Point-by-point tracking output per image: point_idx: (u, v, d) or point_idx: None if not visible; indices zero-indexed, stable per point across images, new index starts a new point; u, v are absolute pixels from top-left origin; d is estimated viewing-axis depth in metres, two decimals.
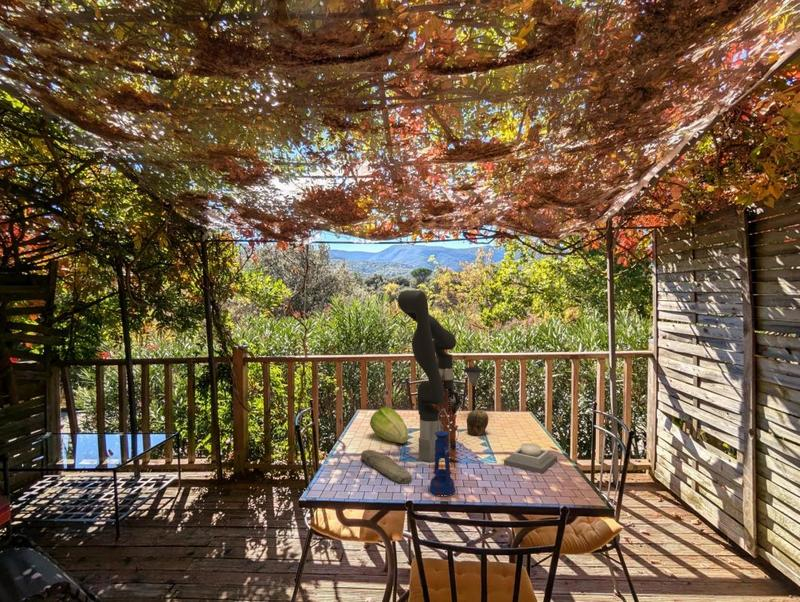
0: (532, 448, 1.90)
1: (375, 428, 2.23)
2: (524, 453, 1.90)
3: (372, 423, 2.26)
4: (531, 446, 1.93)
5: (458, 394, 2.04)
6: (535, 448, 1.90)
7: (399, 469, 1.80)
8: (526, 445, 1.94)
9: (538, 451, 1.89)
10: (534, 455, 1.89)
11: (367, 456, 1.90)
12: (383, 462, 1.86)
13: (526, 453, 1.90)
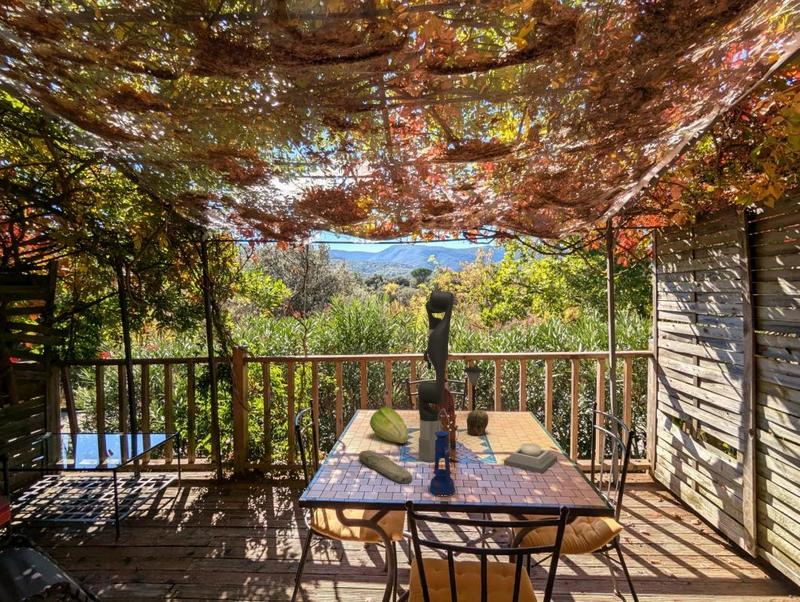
0: (532, 448, 1.90)
1: (375, 428, 2.23)
2: (524, 453, 1.90)
3: (371, 423, 2.25)
4: (531, 446, 1.93)
5: (424, 352, 2.39)
6: (535, 448, 1.90)
7: (399, 469, 1.80)
8: (526, 445, 1.94)
9: (538, 451, 1.89)
10: (534, 455, 1.89)
11: (366, 457, 1.90)
12: (382, 462, 1.86)
13: (526, 453, 1.90)
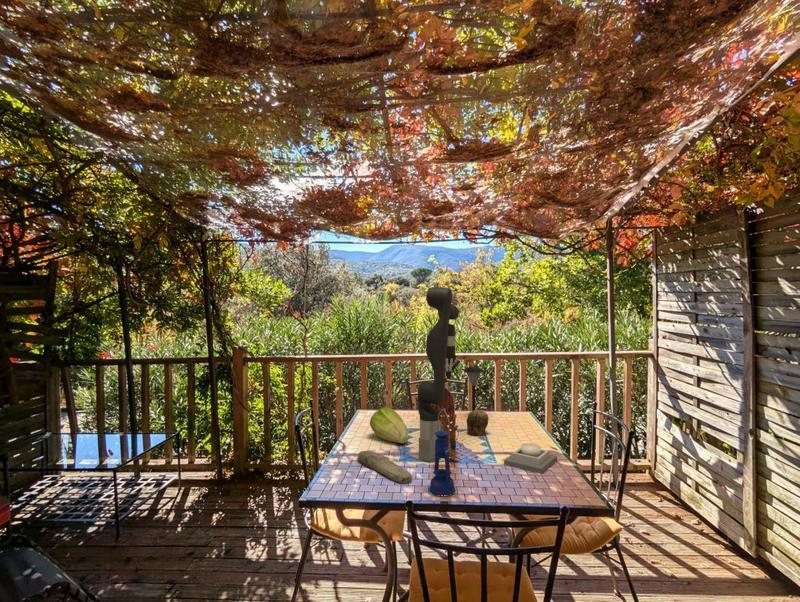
0: (532, 448, 1.90)
1: (375, 428, 2.22)
2: (524, 453, 1.90)
3: (371, 423, 2.25)
4: (531, 446, 1.93)
5: None
6: (535, 448, 1.90)
7: (399, 469, 1.80)
8: (526, 445, 1.94)
9: (538, 451, 1.89)
10: (534, 455, 1.89)
11: (365, 457, 1.89)
12: (382, 462, 1.86)
13: (526, 453, 1.90)
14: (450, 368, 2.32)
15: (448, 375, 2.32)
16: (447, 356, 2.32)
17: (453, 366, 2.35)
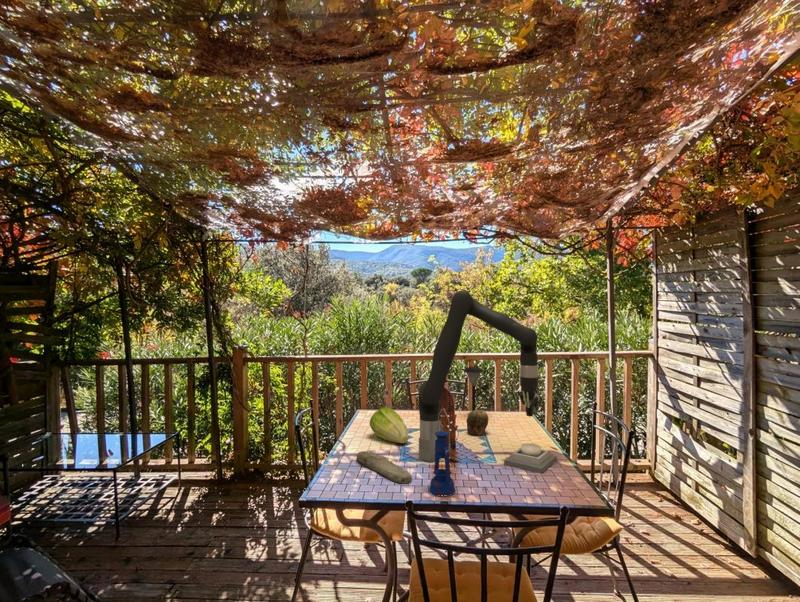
0: (532, 448, 1.90)
1: (375, 428, 2.22)
2: (524, 453, 1.90)
3: (371, 423, 2.25)
4: (531, 446, 1.93)
5: None
6: (535, 448, 1.90)
7: (398, 469, 1.80)
8: (526, 445, 1.94)
9: (538, 451, 1.89)
10: (534, 455, 1.89)
11: (364, 457, 1.89)
12: (381, 463, 1.86)
13: (526, 453, 1.90)
14: (528, 404, 1.92)
15: (527, 412, 1.93)
16: (526, 389, 1.93)
17: None
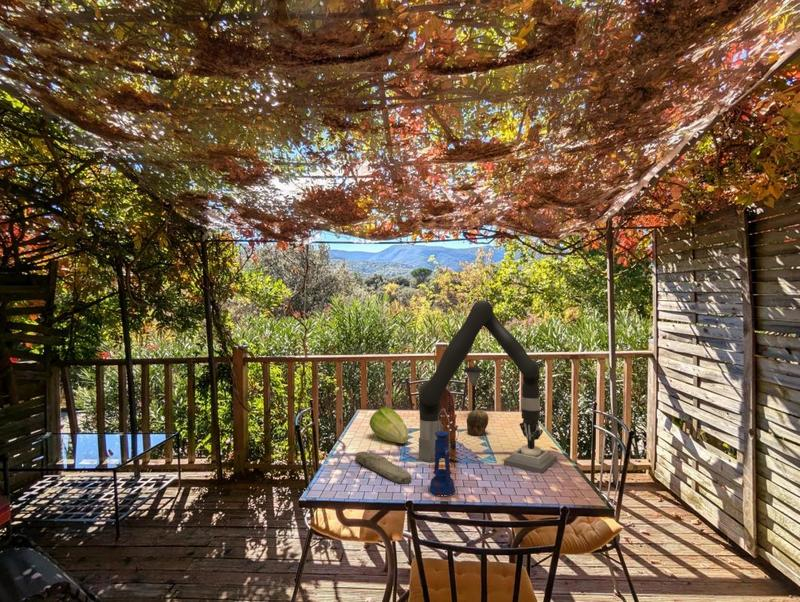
0: (532, 450, 1.90)
1: (375, 428, 2.22)
2: None
3: (371, 423, 2.25)
4: None
5: None
6: (536, 450, 1.90)
7: (397, 469, 1.80)
8: (526, 447, 1.94)
9: (538, 453, 1.89)
10: None
11: (363, 457, 1.88)
12: (380, 463, 1.86)
13: None
14: (530, 436, 1.91)
15: (528, 444, 1.92)
16: (527, 421, 1.93)
17: None
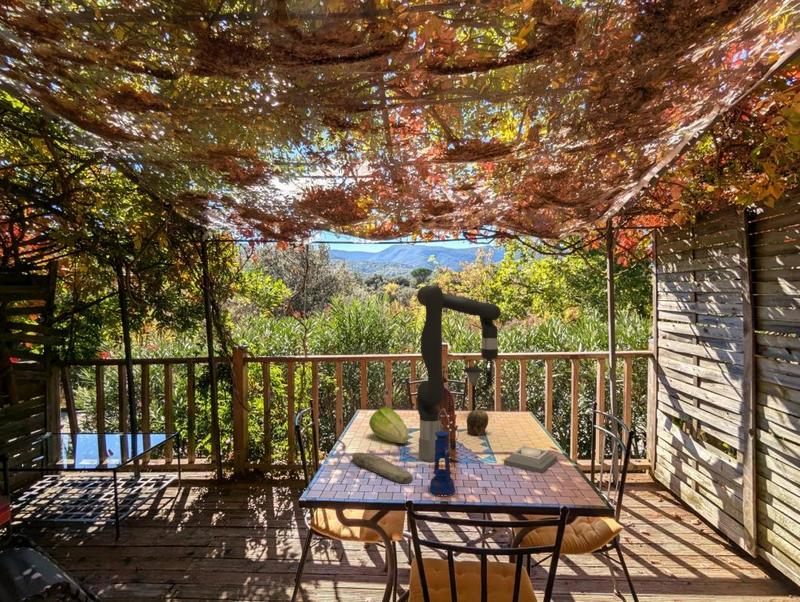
0: (532, 452, 1.91)
1: (375, 428, 2.22)
2: None
3: (371, 423, 2.25)
4: (531, 449, 1.93)
5: None
6: (535, 452, 1.90)
7: (398, 469, 1.80)
8: (526, 449, 1.94)
9: (538, 455, 1.89)
10: None
11: (361, 458, 1.87)
12: (379, 463, 1.85)
13: None
14: (486, 373, 2.09)
15: (487, 381, 2.10)
16: None
17: None
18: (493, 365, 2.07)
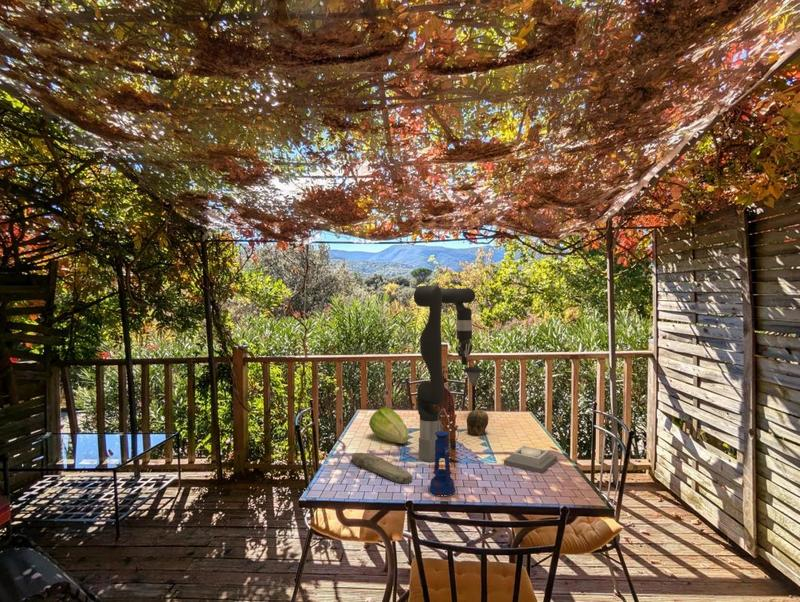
0: (532, 452, 1.91)
1: (375, 429, 2.22)
2: None
3: (371, 423, 2.24)
4: (531, 449, 1.93)
5: None
6: (535, 452, 1.90)
7: (397, 469, 1.80)
8: (526, 449, 1.94)
9: (538, 455, 1.89)
10: None
11: (361, 459, 1.87)
12: (378, 463, 1.85)
13: None
14: None
15: None
16: None
17: None
18: (465, 346, 2.19)
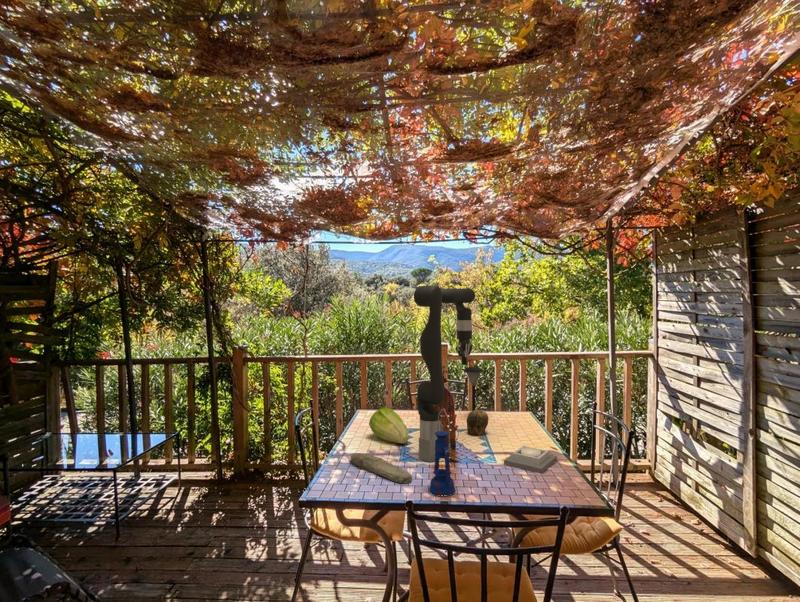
0: (532, 452, 1.91)
1: (375, 429, 2.22)
2: None
3: (371, 423, 2.24)
4: (531, 449, 1.93)
5: None
6: (535, 452, 1.90)
7: (397, 469, 1.80)
8: (526, 449, 1.94)
9: (538, 455, 1.89)
10: None
11: (360, 459, 1.87)
12: (378, 464, 1.85)
13: None
14: None
15: None
16: None
17: None
18: (465, 346, 2.19)
